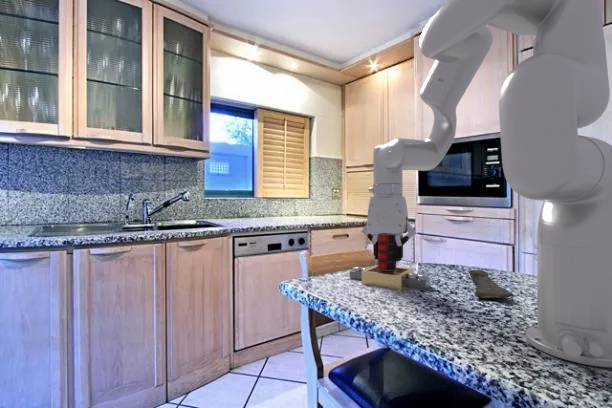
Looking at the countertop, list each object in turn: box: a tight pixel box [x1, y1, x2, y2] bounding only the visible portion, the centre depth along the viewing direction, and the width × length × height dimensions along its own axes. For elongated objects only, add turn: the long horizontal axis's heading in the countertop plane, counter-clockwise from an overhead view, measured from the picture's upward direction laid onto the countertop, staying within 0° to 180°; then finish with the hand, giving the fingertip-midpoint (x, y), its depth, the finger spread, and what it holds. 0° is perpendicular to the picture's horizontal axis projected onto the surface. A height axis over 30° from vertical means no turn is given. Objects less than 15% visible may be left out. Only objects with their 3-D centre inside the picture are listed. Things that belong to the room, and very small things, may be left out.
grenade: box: [377, 233, 397, 274], centre depth 88 cm, size 6×5×15 cm
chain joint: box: [349, 264, 431, 291], centre depth 87 cm, size 10×21×4 cm, turn 56°
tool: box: [468, 269, 515, 299], centre depth 81 cm, size 21×8×3 cm, turn 166°
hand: (388, 259), depth 87 cm, fingers closed on grenade, 4 cm apart
